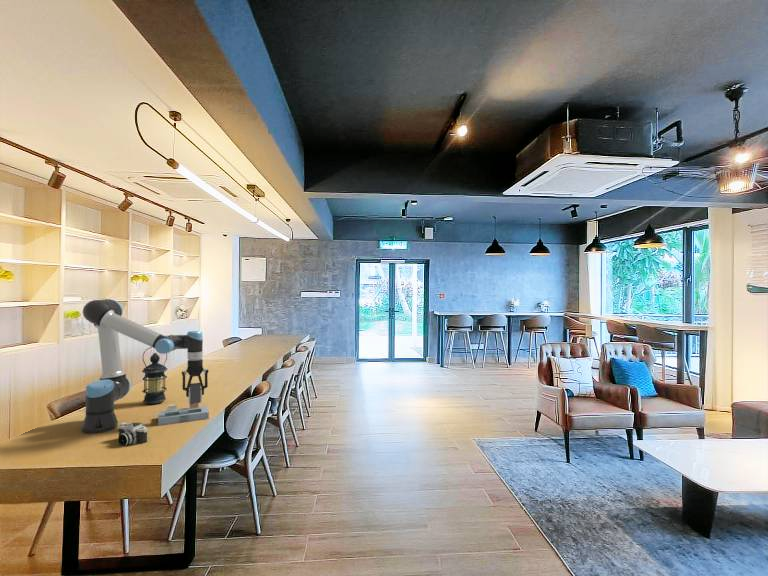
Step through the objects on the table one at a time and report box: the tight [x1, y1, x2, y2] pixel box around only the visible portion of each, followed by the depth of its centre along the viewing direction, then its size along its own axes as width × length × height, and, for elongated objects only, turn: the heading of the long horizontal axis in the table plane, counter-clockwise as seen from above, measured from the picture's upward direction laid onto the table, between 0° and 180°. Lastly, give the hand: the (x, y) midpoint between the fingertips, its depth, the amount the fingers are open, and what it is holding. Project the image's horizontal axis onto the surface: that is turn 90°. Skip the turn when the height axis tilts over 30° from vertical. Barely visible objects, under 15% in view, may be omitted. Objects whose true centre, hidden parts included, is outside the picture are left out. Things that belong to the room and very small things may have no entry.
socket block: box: [157, 403, 210, 426], centre depth 220 cm, size 24×14×7 cm, turn 119°
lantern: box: [141, 346, 168, 405], centre depth 250 cm, size 14×13×35 cm
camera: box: [117, 421, 148, 447], centre depth 185 cm, size 16×9×10 cm, turn 71°
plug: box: [189, 382, 201, 405], centre depth 222 cm, size 5×5×10 cm
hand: (195, 401), depth 222 cm, fingers closed on plug, 5 cm apart
